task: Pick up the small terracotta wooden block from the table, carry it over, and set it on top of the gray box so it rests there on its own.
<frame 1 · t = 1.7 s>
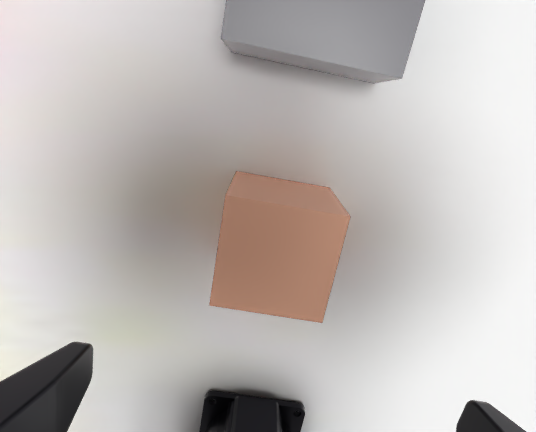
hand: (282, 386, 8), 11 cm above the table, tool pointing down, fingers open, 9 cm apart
terracotta block: (274, 223, 19), on the table
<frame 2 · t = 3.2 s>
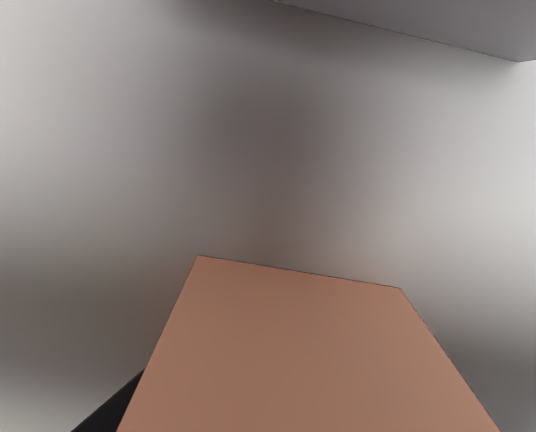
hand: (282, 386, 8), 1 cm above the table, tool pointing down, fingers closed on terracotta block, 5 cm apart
terracotta block: (280, 355, 9), on the table, touching gripper
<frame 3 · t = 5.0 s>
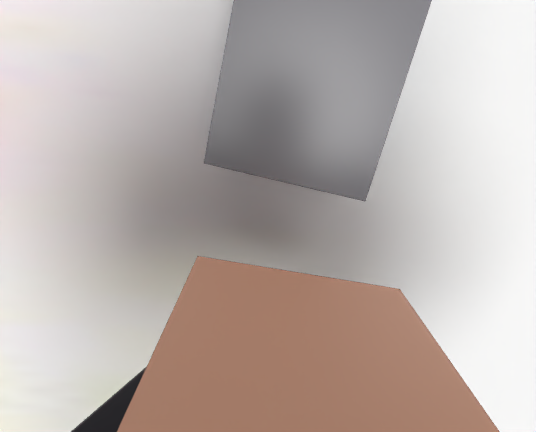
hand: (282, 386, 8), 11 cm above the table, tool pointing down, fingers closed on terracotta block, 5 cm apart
gray box: (301, 89, 17), on the table
terracotta block: (280, 356, 9), point 10 cm above the table, touching gripper
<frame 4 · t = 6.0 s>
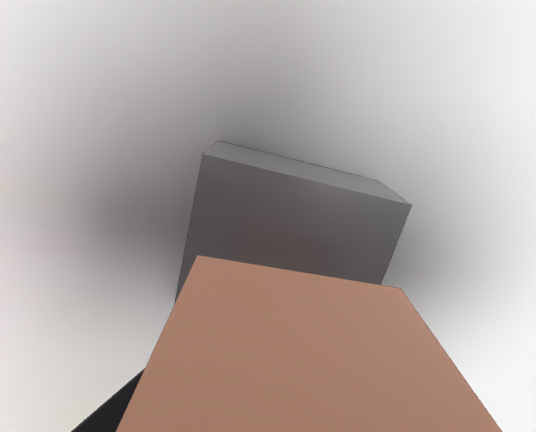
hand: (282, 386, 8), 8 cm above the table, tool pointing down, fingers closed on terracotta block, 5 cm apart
gray box: (276, 243, 16), on the table
terracotta block: (281, 356, 9), point 7 cm above the table, touching gripper
when the fingers open (6 cm above the table, at t = 6.7 s): terracotta block drops 1 cm, resting on gray box.
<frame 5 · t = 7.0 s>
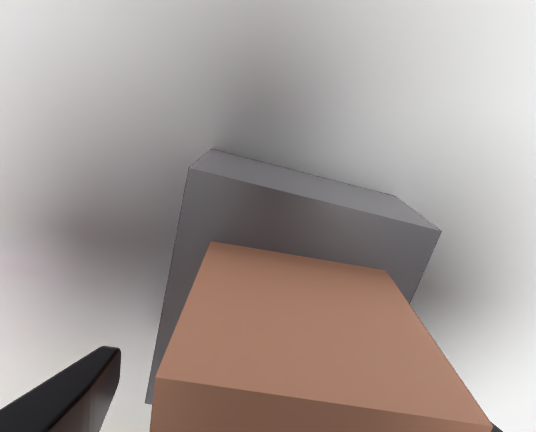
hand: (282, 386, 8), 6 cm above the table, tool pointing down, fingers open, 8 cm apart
gray box: (276, 265, 14), on the table, touching terracotta block
terracotta block: (282, 330, 11), point 4 cm above the table, touching gray box
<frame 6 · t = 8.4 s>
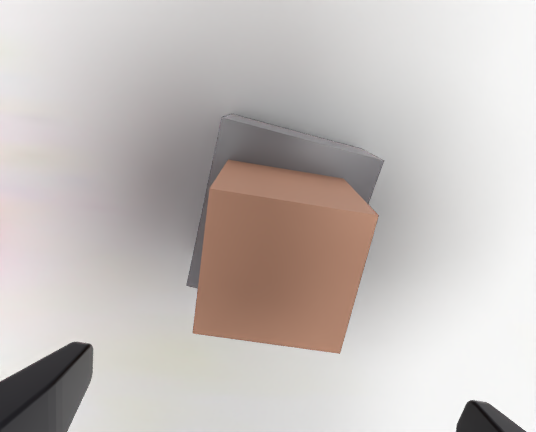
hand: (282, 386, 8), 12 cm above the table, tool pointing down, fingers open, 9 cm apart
gray box: (277, 202, 20), on the table, touching terracotta block
terracotta block: (276, 223, 16), point 4 cm above the table, touching gray box
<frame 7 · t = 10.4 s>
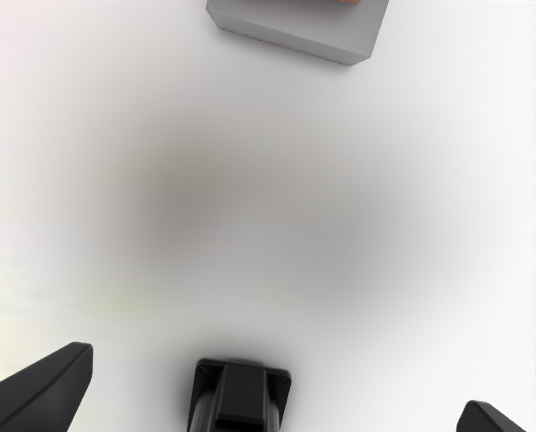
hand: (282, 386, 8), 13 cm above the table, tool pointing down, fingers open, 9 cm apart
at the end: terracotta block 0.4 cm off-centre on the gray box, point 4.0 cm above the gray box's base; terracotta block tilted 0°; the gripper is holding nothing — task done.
